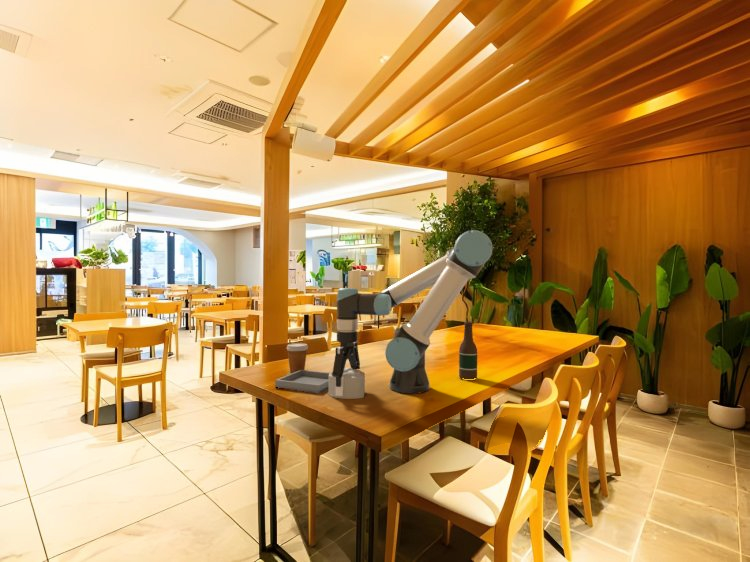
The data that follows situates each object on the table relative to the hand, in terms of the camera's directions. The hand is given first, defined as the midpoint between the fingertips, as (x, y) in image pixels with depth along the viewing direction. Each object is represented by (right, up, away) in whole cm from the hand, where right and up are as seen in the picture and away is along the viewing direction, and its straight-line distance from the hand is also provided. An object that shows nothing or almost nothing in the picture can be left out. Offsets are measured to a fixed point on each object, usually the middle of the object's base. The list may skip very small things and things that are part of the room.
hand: (346, 390), depth 139 cm
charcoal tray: (-16, -1, +12) cm, 20 cm away
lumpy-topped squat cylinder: (0, -1, 0) cm, 1 cm away
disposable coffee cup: (-25, -1, +33) cm, 41 cm away
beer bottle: (+50, -2, +23) cm, 55 cm away
